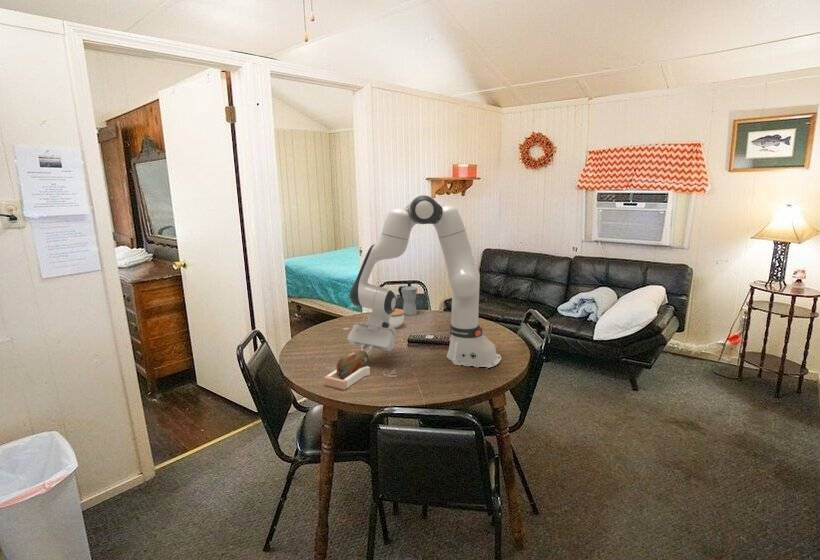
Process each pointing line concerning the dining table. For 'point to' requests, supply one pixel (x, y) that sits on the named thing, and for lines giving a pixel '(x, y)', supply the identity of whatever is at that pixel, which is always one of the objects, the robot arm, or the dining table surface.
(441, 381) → the dining table surface
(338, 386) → the guide channel
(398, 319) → the lidded jar
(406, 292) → the coffee maker
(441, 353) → the dining table surface
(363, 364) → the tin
